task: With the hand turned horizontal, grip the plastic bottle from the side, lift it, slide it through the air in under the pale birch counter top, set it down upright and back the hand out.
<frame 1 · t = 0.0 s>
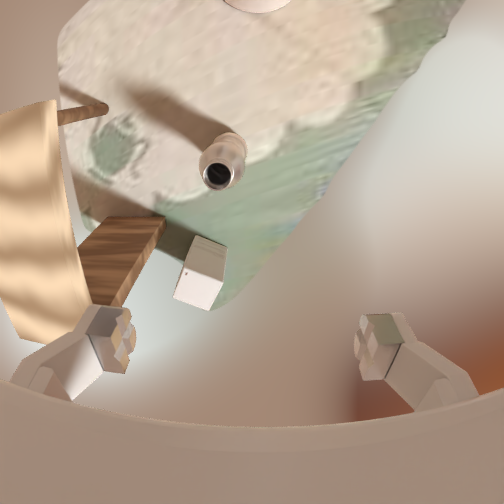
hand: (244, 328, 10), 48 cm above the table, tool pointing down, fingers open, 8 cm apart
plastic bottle: (230, 148, 54), on the table
supplement box: (206, 254, 64), on the table
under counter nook: (129, 164, 55), on the table
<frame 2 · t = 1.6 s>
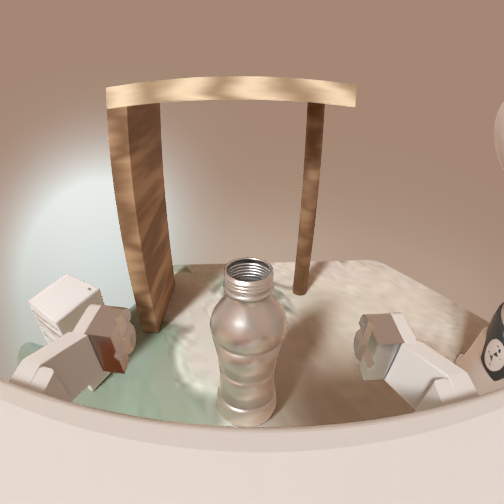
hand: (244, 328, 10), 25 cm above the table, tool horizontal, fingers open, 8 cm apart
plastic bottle: (246, 412, 33), on the table
supplement box: (92, 366, 37), on the table
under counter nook: (232, 308, 50), on the table
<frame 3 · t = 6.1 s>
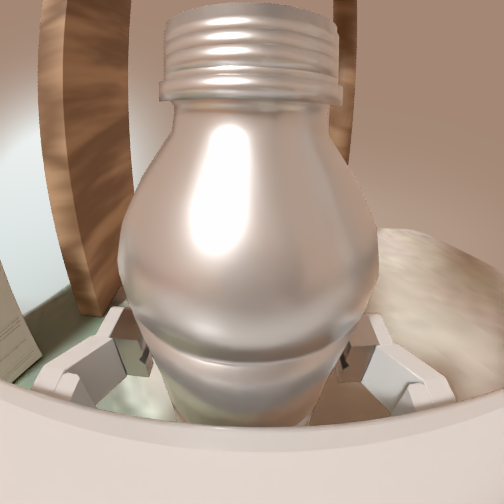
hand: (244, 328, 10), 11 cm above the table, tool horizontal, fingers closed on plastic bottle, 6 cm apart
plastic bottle: (242, 468, 15), on the table, touching gripper
supplement box: (0, 362, 19), on the table
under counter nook: (223, 283, 32), on the table
when the fingers open (13 cm above the table, at t = 13.4 s): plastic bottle moves 2 cm, on the table.
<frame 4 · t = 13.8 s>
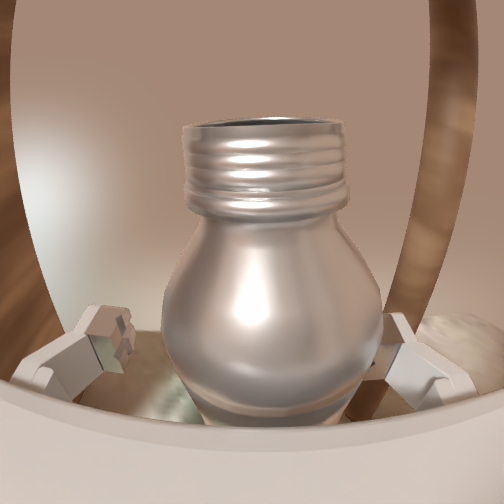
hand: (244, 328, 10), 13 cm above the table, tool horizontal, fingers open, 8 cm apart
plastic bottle: (271, 482, 16), on the table, touching gripper
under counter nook: (204, 470, 16), on the table
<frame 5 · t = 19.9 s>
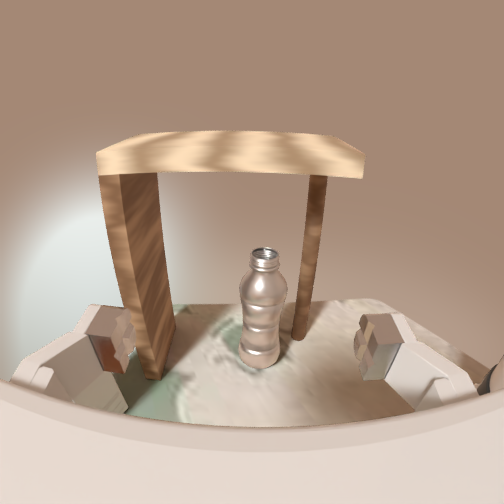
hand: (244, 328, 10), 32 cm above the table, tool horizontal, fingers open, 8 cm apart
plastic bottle: (258, 360, 49), on the table
supplement box: (98, 412, 37), on the table
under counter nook: (232, 355, 50), on the table
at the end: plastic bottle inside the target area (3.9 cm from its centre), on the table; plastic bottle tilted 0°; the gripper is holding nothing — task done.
